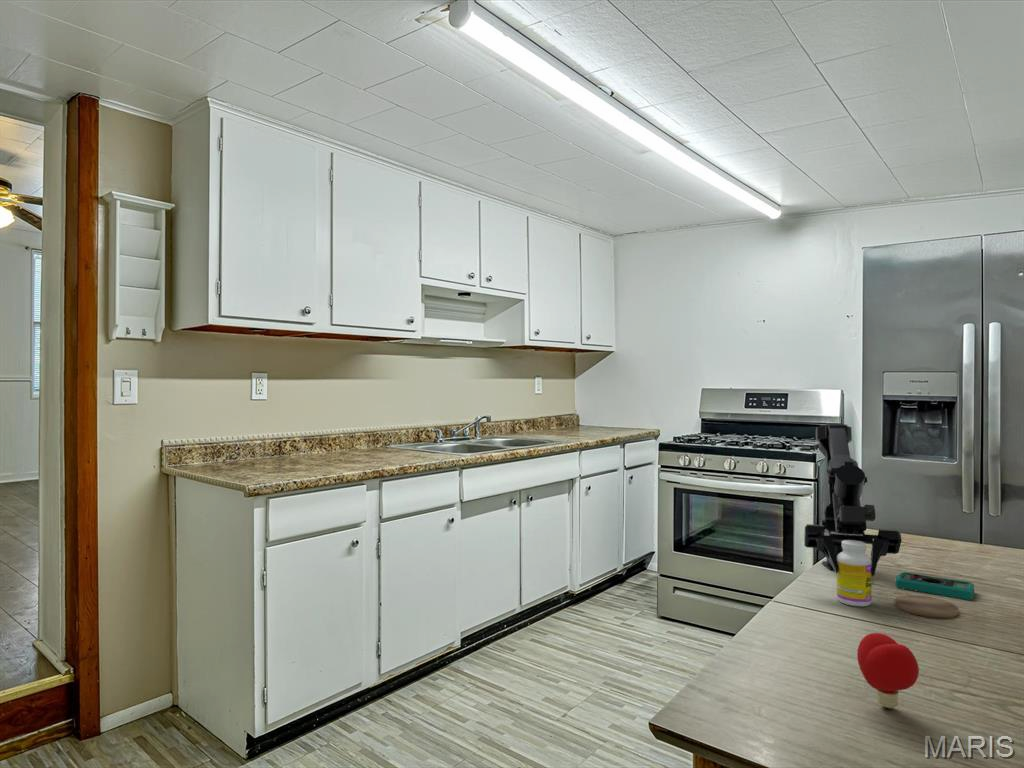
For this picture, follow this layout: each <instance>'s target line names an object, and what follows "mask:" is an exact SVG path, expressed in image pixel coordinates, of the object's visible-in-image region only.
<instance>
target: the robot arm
mask: <svg viewBox="0 0 1024 768" xmlns="http://www.w3.org/2000/svg"><path fill="white" fill-rule="evenodd" d="M852 435H853V434H852V427H851V426H848V424H845V423H841V422H840V423H838V422H837V423H835V422H833V423H832V422H829V423H827V424H826V423H825V424H821V425H818V426H816V428H815V442H817V443H818V450H819V451H820V453H822V455H823V456H824V457H825V464H826V466H825V467H826V469H825V483H826V484H825V485H827V496H828V505H827V506H826V508H825V510H824V513H823V518H822V519H820V524H813V523H812V524H810V523H808V524H806V525H805V526H804V531H803V532H804V533H803V542H804V547H805V548H809V549H811V548H812V549H816V551H817V552H821V553H822V555H824V557H825V558H826V561H823V560H822V561H823V562H822V561H821V564H822V565H823V566H824V567H826V568H827V569H828V570H830V571H834V572H835V573H836V574H837V573H838V564H837V555H838V554H839V553H840V552H843V549H842V541H843V540H856V541H861V542H864V543H866V545H871V551H870V558H871V573H872V577H874V576H875V574H876V570H877V565H878V563H879V561H880V559H881V557H885V556H887V555H888V554H891V555H897V554H898V553H899V551H900V547H901V544H902V534H901V533H900V532H899V531H898V530H897V529H889V528H879V529H878V532H877V534H866V533H865V532H866V531H867V528H868V527H867V522H875V519H876V516H877V515H876V509H875V508H876V507H875V505H874V504H864V506H862V502H861V497H862V495H863V492H864V491H863V490H864V486H865V484H866V483H868V477H867V476H866V474H865V472H864V471H863V469H861V468H860V467H859V463H858V462H857V461H856V460H855V459H853V458H852V457H851V453H850V447H849V443H851V442H852V439H853V438H852V437H853V436H852Z"/></svg>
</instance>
